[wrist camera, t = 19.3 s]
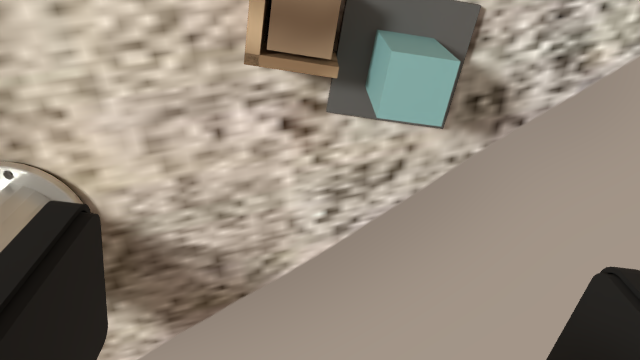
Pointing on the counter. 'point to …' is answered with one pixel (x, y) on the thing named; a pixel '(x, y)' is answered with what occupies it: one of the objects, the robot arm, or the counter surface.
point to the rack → (293, 36)
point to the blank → (410, 78)
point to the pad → (401, 17)
